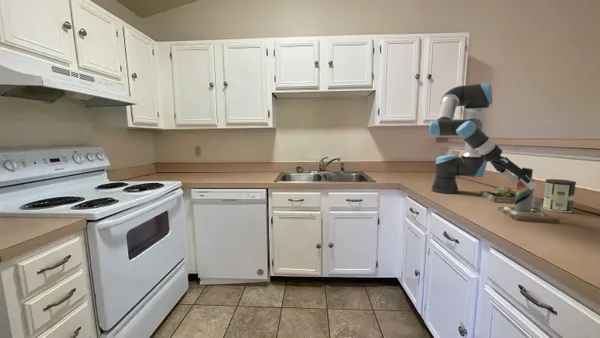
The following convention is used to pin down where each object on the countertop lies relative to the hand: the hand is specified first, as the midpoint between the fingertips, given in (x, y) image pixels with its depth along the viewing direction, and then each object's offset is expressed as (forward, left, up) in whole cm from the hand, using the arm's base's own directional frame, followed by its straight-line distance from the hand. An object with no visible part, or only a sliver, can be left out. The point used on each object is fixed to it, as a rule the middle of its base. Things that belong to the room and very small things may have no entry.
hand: (523, 184), depth 114 cm
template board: (0, +2, -14) cm, 14 cm away
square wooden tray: (-33, +8, -14) cm, 37 cm away
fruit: (-35, +8, -15) cm, 39 cm away
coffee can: (-15, +22, -14) cm, 31 cm away
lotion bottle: (0, +1, -13) cm, 13 cm away
